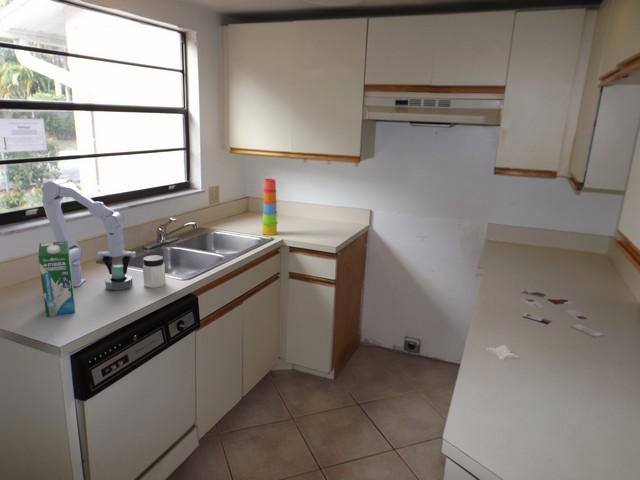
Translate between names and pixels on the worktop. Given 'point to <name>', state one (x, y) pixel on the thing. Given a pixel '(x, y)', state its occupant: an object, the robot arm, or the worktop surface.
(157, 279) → the jar
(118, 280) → the barrel ring
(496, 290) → the worktop surface
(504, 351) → the acanthus leaf ornament
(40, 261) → the milk carton
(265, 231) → the stacking cups
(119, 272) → the mint green cube
